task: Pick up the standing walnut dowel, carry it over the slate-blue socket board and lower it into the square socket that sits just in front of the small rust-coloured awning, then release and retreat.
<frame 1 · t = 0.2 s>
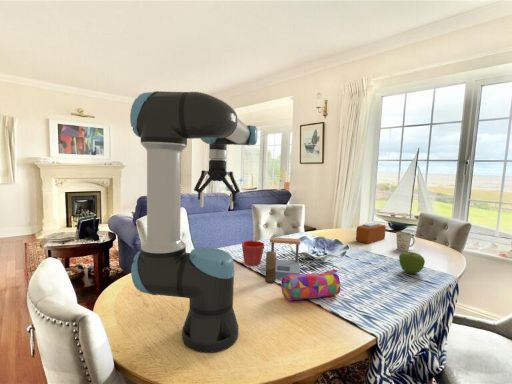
hand: (216, 208, 125), 28 cm above the table, fingers open, 13 cm apart
pencil case: (310, 297, 103), on the table
orange rectangular block: (370, 240, 190), on the table
apple: (410, 273, 131), on the table
socket board: (283, 271, 127), on the table
flower pot: (252, 263, 136), on the table
mug: (405, 249, 170), on the table
dowel: (270, 281, 115), on the table
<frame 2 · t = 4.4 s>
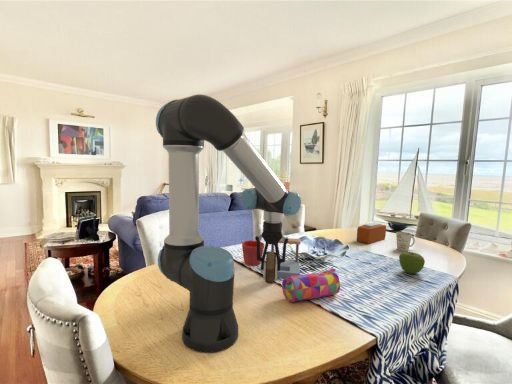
hand: (270, 277, 115), 2 cm above the table, fingers closed on dowel, 4 cm apart
dowel: (270, 281, 115), on the table, touching gripper
when the fingers open (4 cm above the table, at t = 9.7 s): dowel stays where it is, resting in socket board.
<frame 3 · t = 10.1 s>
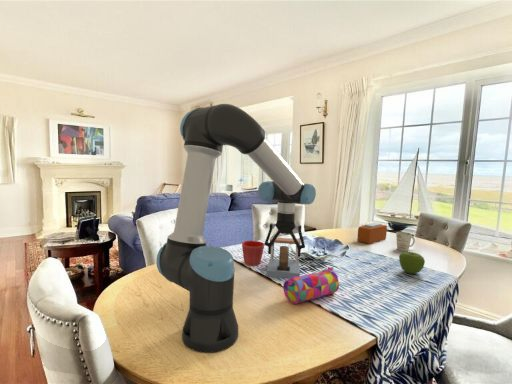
hand: (283, 262, 123), 5 cm above the table, fingers open, 10 cm apart
dowel: (283, 273, 124), resting in socket board
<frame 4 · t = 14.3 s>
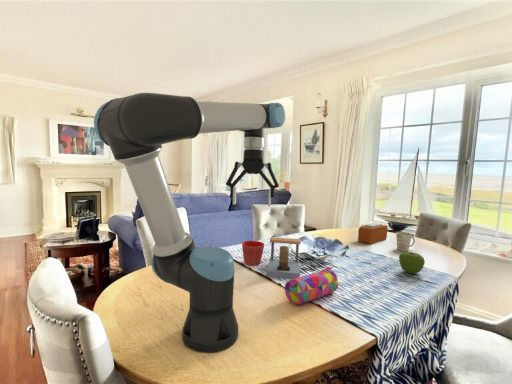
hand: (251, 205, 108), 32 cm above the table, fingers open, 13 cm apart
at the end: dowel 0.0 cm from the target spot on the socket board, point 0.0 cm above the socket board's base; dowel tilted 0°; the gripper is holding nothing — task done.
